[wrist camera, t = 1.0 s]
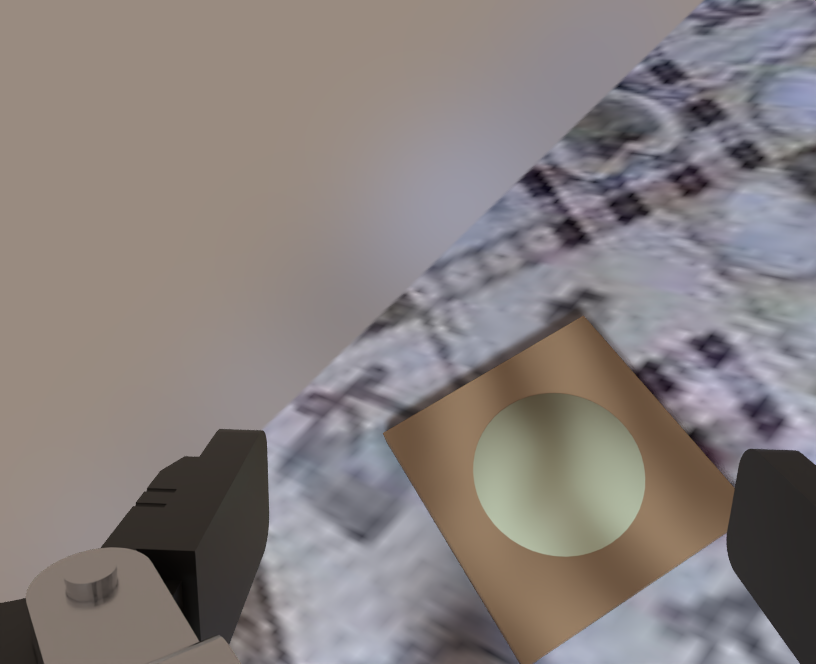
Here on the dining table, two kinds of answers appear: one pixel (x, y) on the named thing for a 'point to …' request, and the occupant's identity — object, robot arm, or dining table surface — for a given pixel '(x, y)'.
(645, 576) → the walnut board
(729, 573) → the dining table surface
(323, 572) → the dining table surface
